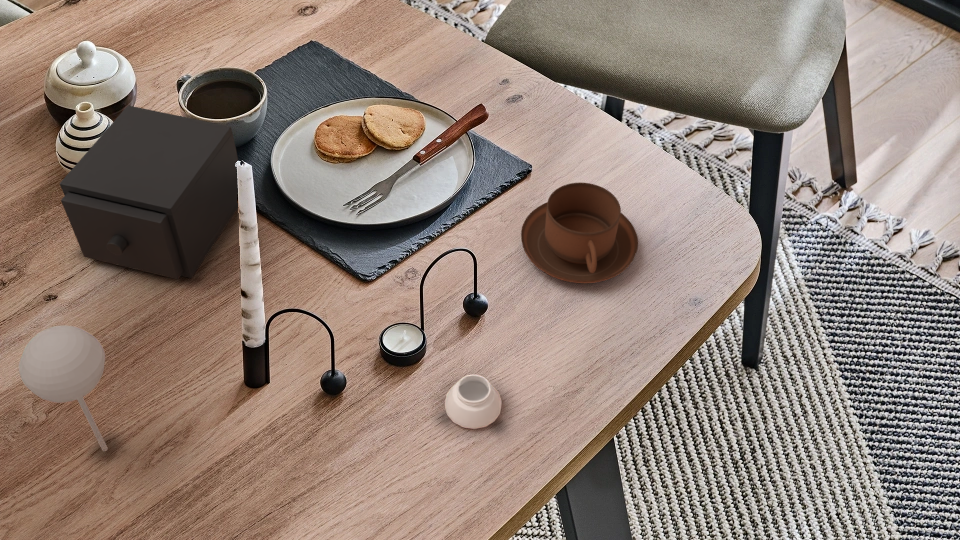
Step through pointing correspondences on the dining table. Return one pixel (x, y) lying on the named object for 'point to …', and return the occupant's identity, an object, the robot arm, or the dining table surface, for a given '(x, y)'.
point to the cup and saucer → (580, 235)
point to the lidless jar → (473, 402)
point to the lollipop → (64, 367)
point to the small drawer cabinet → (165, 175)
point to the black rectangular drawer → (123, 234)
